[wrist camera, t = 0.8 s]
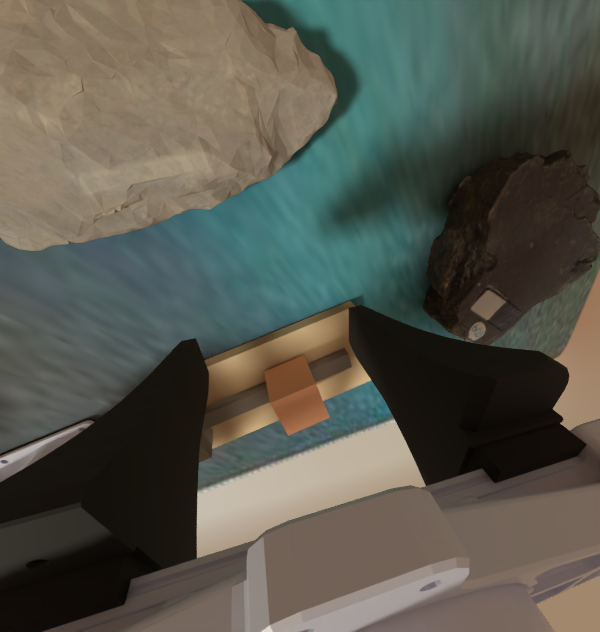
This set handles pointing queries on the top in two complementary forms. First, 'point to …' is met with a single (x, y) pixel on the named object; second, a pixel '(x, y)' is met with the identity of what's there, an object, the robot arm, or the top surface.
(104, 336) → the top surface
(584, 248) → the rock sample
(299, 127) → the stone tool
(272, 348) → the rail board
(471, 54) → the top surface
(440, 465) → the robot arm
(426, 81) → the top surface
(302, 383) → the slider block
